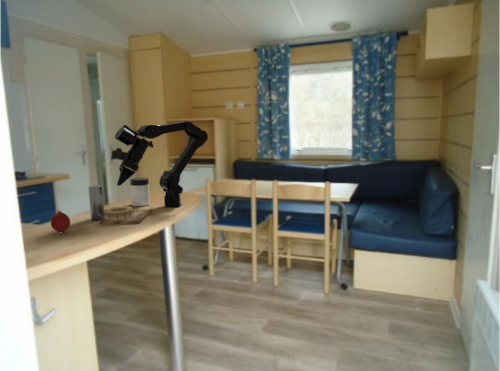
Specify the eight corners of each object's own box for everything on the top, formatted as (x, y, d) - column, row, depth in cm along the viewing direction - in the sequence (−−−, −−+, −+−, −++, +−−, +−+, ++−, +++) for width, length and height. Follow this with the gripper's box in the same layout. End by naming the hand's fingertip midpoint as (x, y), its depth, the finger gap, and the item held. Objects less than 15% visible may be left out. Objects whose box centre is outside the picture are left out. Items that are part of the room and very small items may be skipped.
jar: (135, 207, 159) (134, 180, 157) (127, 204, 165) (126, 178, 163) (154, 204, 165) (152, 178, 163) (145, 201, 171) (144, 176, 169)
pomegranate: (75, 231, 123) (72, 208, 122) (61, 236, 118) (59, 212, 117) (62, 229, 125) (59, 207, 124) (48, 234, 120) (45, 211, 118)
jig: (151, 212, 150) (151, 202, 149) (139, 223, 132) (138, 212, 131) (117, 212, 149) (116, 202, 149) (100, 224, 132) (99, 213, 131)
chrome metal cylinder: (107, 217, 142) (104, 185, 140) (102, 220, 137) (99, 187, 135) (94, 217, 142) (91, 185, 140) (89, 220, 137) (86, 187, 135)
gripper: (117, 145, 153) (99, 177, 149) (120, 138, 136) (99, 174, 132) (141, 157, 156) (124, 189, 153) (146, 152, 139) (127, 188, 136)
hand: (118, 185), depth 144 cm, fingers open, 9 cm apart
